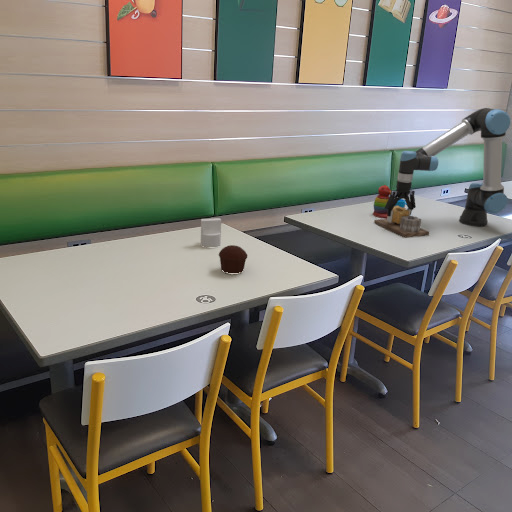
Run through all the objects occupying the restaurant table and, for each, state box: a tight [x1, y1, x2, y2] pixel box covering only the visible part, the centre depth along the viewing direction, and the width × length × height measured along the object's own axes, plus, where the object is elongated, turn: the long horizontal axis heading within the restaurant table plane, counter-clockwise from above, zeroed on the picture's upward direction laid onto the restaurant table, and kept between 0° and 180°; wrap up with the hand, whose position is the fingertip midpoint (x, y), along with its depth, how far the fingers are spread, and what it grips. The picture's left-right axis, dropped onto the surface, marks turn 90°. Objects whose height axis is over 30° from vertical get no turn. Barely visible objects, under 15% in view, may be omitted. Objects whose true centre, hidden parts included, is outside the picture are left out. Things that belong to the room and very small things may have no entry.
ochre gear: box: [387, 206, 409, 224], centre depth 273 cm, size 10×10×6 cm
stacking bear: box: [372, 184, 392, 219], centre depth 294 cm, size 11×10×18 cm
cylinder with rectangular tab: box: [200, 217, 222, 248], centre depth 229 cm, size 9×9×12 cm
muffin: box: [218, 244, 248, 273], centre depth 202 cm, size 12×11×10 cm
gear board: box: [373, 215, 430, 238], centre depth 271 cm, size 16×26×9 cm, turn 22°
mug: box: [395, 199, 409, 209], centre depth 302 cm, size 12×8×8 cm
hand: (398, 221), depth 274 cm, fingers open, 11 cm apart
